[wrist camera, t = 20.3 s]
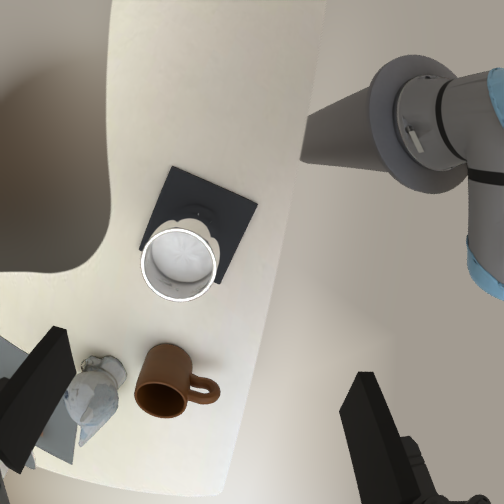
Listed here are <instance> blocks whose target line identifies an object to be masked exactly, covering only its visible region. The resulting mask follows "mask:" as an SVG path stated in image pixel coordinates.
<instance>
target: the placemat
mask: <svg viewBox="0 0 504 504" xmlns="http://www.w3.org/2000/svg"><path fill="white" fill-rule="evenodd" d="M190 205H201V206H204V207H206V208H208V209H209V210H211V211H212V212H213V213H214V214H215V216H216V218H217V220H218V223H219V233H218V238H219V242H220V261H219V265H218V269H217V272H216V276H215V279H214V282H215V283H217V284H220V283H221V281H222V279H223V277H224V274H225V272H226V270H227V268H228V266H229V264H230V262H231V260H232V257H233V255H234V253H235V251H236V249H237V247H238V245H239V243H240V241H241V239H242V237H243V234H244V232H245V230H246V228H247V226H248V224H249V222H250V220H251V218H252V216H253V214H254V212H255V209H256V207H257V205H258V204H257V203H255V202H253V201H251V200H249V199H246V198H244V197H242V196H240V195H238V194H235V193H233V192H231V191H229V190H227V189H224V188H222V187H220V186H218V185H215V184H213V183H211V182H209V181H206V180H204V179H202V178H199V177H197V176H195V175H192V174H190V173H188V172H186V171H183V170H181V169H179V168H176V167H174V166H172V167H171V169H170V171H169V174H168V176H167V178H166V181H165V183H164V186H163V188H162V190H161V193H160V195H159V198H158V200H157V203H156V205H155V208H154V210H153V213H152V215H151V218H150V221H149V223H148V226H147V228H146V231H145V234H144V237H143V239H142V242H141V245H140V248H139V250H140V251H143V248H144V246H145V245H146V243H147V242H148V240H149V239H150V237H151V235H152V234H153V233H154V231H155V230H156V229H157V228H158V227H159V226H160V225H161V224H162V223H163V222H165V221H166V220H167V219H169V218H171V217H174V216H176V214H177V213H178V212H179V211H180V210H181V209H182V208H184V207H186V206H190Z"/></svg>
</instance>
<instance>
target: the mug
mask: <svg viewBox="0 0 504 504" xmlns="http://www.w3.org/2000/svg"><path fill="white" fill-rule="evenodd" d="M190 386H192V387H195V388H203V389H207V390H208V391H209V392H210V393H205V394H204V393H200V392H197V391H194V390H191V389H190ZM134 396H135V400H136V402H137V404H138V406H139V407H140V408H141V409H142V410H144V411H145V412H146V413H148V414H150V415H152V416H155V417H159V418H173V417H177V416H179V415H180V414H182V413H183V412H184V411H185V409H186V406H187V402H188V401H192V402H195V403H198V404H211V403H214V402H215V401H217V399H218V398H219V397H220V388H219V386H218V384H217V383H216V382H214V381H213V380H211V379H208V378H204V377H198V376H196V375H194V374H192V362H191V359H190V357H189V355H188V354H187V353H186V352H185V351H184V350H182V349H181V348H179V347H177V346H174V345H170V344H161V345H158V346H155V347H153V348H152V349H151V350H150V351H149V352H148V354H147V356H146V358H145V361H144V364H143V366H142V369H141V371H140V374H139V377H138V380H137V383H136V388H135V392H134Z"/></svg>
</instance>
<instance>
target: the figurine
mask: <svg viewBox="0 0 504 504" xmlns="http://www.w3.org/2000/svg"><path fill="white" fill-rule="evenodd" d="M85 360H86V364H85V365H84V368H82V366H81V369H82V371H83V372H82V373H79V374H77V375H75V377H74V378H73V380H72V381H71V383H70V385H69V386H68V388H67V390H66V391H65V393H64V398H63V401H64V404H65V406H66V409H67V411H68V413H69V415H70V417H71V418H72V419H73V420H74V421H75V422H76V423H77V424H78V425H80V426H81V433H80V441H79V446H80V447H82V446H83V445H84V444H85V443H86V442H87V441H88V440H89V439H90V438H91V437H92V436H93V435H94V434H95V433H96V432H97V431H98V430H99V429H100V428H101V427H102V426H103V425H104V424H105V423H106V422H107V421H108V420H109V419H110V418H111V416H112V415H113V414H114V413H115V412H116V410H117V408H118V399H119V397H118V392H117V390H118V389H119V387H120V386H121V385H122V384H123V383H124V381H125V380H126V377H127V374H126V372H125V369H124V368H123V365H122V363H121V362H120V361H119V360H118V359H116V358H114V357H112V356H105V357H104V358H103V359H98V358H96V357H94V356H90V357H89V358H87V359H85ZM85 360H83V361H82V363H83V362H84V361H85ZM81 365H82V364H81Z"/></svg>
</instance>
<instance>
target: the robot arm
mask: <svg viewBox="0 0 504 504" xmlns="http://www.w3.org/2000/svg"><path fill="white" fill-rule="evenodd" d="M393 124H394V129H395V133H396V136H397V138H398V141H399V143H400V145H401V146H402V148H403V150H404V151H405V152H406V154H407V155H408V156H409V157H410V158H411V159H412V160H413V161H414V162H415V163H417V164H418V165H420V166H421V167H424V168H426V169H430V170H437V171H447V170H450V169H453V168H455V167H457V166H458V165H460V164H463V163H466V162H467V166H468V192H469V194H468V195H469V219H468V235H467V239H466V244H467V249H468V253H467V266H468V270H469V273H470V275H471V278H472V279H473V280H474V281H475V283H476V284H477V285H478V286H479V287H480V288H481V289H482V290H484V291H485V292H487V293H488V294H490V295H491V296H494V297H496V298H498V299H500V300H503V301H504V69H503V68H495V69H492V70H490V71H486V72H482V73H477V74H473V75H468V76H465V77H460V78H457V79H448V78H443V77H438V76H434V75H421V76H418V77H415V78H412V79H410V80H408V81H406V82H405V83H404V84H403V85H402V86H401V87H400V89H399V90H398V92H397V94H396V96H395V99H394V104H393ZM75 375H76V369H75V365H74V361H73V357H72V353H71V348H70V344H69V339H68V335H67V330H66V329H63V328H59V327H56V326H53V327H52V328H51V329H50V330H49V331H48V332H47V334H46V335H45V336H44V337H43V338H42V340H41V341H40V342H39V343H38V344H37V345H36V347H35V348H34V349H33V350H32V352H31V353H30V354H29V355H28V356H27V358H26V359H25V360H24V361H23V363H22V364H21V365H20V366H19V368H18V369H17V370H16V372H15V373H14V374H13V375H12V377H11V378H10V379H8V378H6V377H3V378H1V379H0V460H1V461H2V462H3V463H4V465H5V466H6V467H8V468H10V469H12V470H13V471H15V472H17V473H19V474H21V472H22V470H23V468H24V466H25V464H26V462H27V460H28V458H29V456H30V454H31V452H32V450H33V448H34V447H35V445H36V443H37V441H38V439H39V437H40V435H41V433H42V432H43V430H44V428H45V426H46V424H47V423H48V421H49V419H50V417H51V415H52V414H53V412H54V410H55V408H56V407H57V405H58V403H59V402H60V400H61V398H62V396H63V395H64V393H65V391H66V390H67V388H68V386H69V385H70V383H71V381H72V380H73V378H74V377H75ZM339 413H340V417H341V420H342V424H343V428H344V432H345V436H346V440H347V444H348V448H349V452H350V456H351V460H352V464H353V468H354V473H355V477H356V481H357V485H358V490H359V494H360V498H361V503H362V504H491V503H490V501H489V499H488V498H487V497H485V496H484V495H475V496H473V497H472V498H470V499H469V500H468V501H449V500H448V499H447V498H446V497H444V496H443V495H438V493H437V492H436V490H435V487H434V485H433V482H432V479H431V477H430V474H429V471H428V469H427V467H426V464H424V462H425V461H424V459H423V457H422V456H421V452H420V450H419V447H418V444H417V443H416V442H415V441H414V440H413V439H412V438H411V437H410V436H406V437H400V435H399V433H398V430H397V428H396V426H395V423H394V420H393V418H392V415H391V413H390V411H389V408H388V406H387V403H386V401H385V399H384V396H383V394H382V391H381V389H380V387H379V384H378V382H377V380H376V378H375V375H374V373H373V372H358V373H357V375H356V377H355V380H354V382H353V384H352V386H351V388H350V390H349V392H348V394H347V396H346V398H345V400H344V403H343V405H342V406H341V408H340V411H339ZM0 504H10V503H9V499H8V496H7V493H6V489H5V486H4V482H3V478H2V474H1V470H0Z"/></svg>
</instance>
